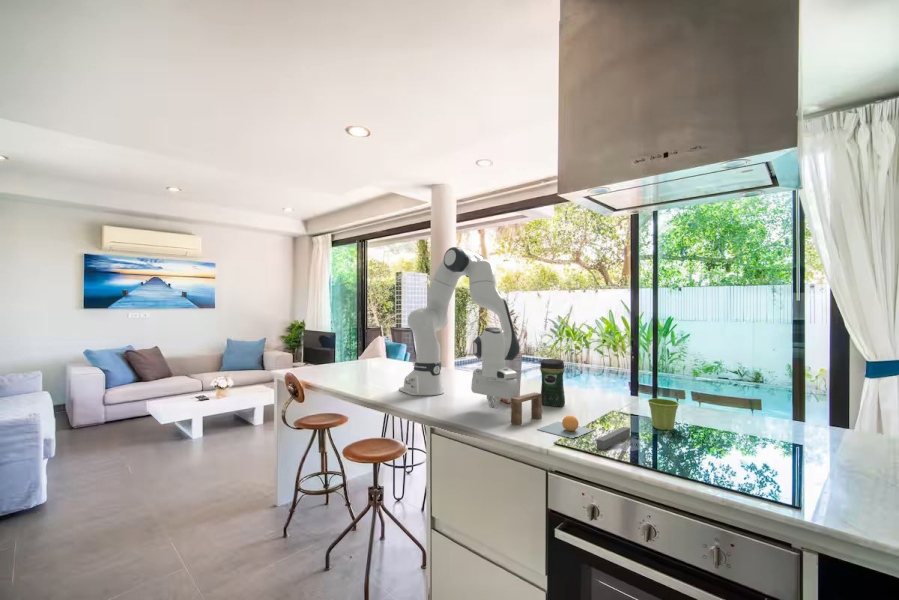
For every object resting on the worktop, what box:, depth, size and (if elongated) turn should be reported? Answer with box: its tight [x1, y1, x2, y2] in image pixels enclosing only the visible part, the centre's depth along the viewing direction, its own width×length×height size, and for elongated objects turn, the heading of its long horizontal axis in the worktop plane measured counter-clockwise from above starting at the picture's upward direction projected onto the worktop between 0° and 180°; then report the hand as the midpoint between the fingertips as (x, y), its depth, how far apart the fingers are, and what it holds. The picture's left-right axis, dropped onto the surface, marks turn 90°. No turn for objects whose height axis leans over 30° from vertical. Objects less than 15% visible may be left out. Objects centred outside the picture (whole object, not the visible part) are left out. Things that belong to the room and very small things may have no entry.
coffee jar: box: [539, 358, 566, 407], centre depth 168 cm, size 10×8×19 cm
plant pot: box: [647, 398, 680, 431], centre depth 136 cm, size 9×9×9 cm
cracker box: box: [500, 352, 523, 404], centre depth 176 cm, size 14×6×21 cm, turn 18°
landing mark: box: [536, 421, 595, 439], centre depth 133 cm, size 13×13×1 cm
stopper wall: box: [596, 426, 631, 451], centre depth 121 cm, size 2×18×2 cm, turn 134°
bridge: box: [510, 391, 543, 426], centre depth 144 cm, size 3×14×9 cm, turn 134°
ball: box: [561, 414, 579, 431], centre depth 132 cm, size 5×5×5 cm
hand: (493, 408), depth 154 cm, fingers closed
